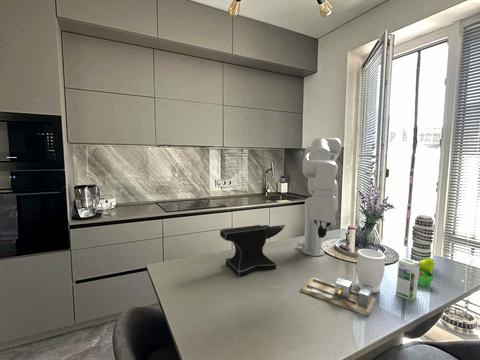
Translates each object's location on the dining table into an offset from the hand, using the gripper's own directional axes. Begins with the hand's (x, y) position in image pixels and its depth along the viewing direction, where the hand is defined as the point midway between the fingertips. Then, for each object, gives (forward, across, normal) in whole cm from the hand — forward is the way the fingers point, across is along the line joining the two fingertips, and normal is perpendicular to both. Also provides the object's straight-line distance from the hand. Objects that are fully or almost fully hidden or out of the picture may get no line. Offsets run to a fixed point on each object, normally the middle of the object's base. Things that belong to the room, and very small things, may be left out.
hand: (321, 236), depth 103 cm
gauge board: (+22, +8, -2) cm, 23 cm away
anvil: (+22, -31, -2) cm, 38 cm away
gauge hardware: (+20, +8, -2) cm, 22 cm away
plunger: (+20, +10, -4) cm, 23 cm away
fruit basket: (+22, +34, +34) cm, 53 cm away
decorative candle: (+23, +32, +58) cm, 70 cm away
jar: (+22, +17, +13) cm, 30 cm away
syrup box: (+22, +30, +16) cm, 40 cm away
